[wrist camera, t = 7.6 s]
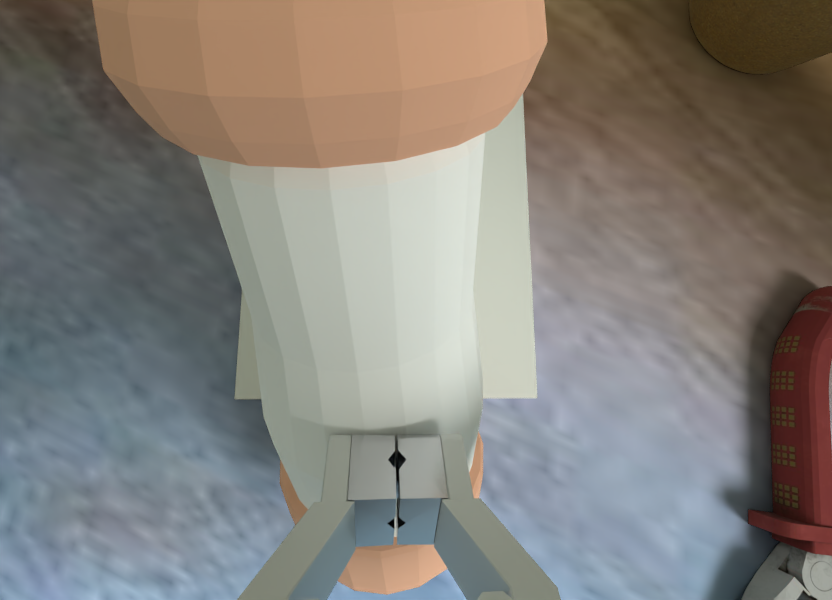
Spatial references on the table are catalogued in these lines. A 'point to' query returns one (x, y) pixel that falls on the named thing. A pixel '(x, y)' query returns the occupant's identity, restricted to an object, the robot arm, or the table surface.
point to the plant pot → (763, 32)
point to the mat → (478, 275)
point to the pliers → (800, 460)
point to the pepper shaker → (342, 204)
